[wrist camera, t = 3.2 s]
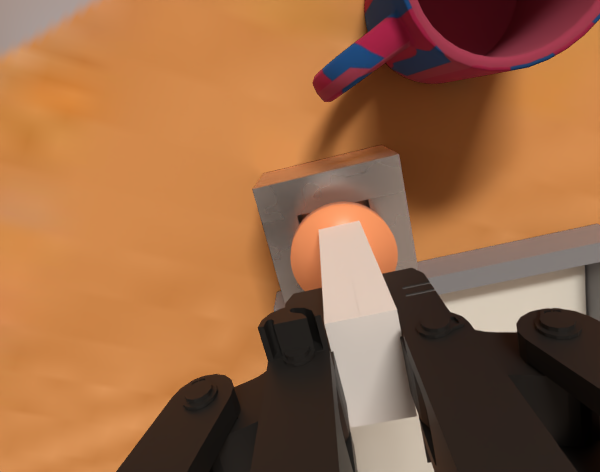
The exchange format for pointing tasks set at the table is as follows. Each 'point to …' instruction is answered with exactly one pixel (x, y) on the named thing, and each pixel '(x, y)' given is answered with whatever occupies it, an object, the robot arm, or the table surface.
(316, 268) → the button
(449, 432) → the robot arm
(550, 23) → the cup
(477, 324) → the tray
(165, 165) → the table surface
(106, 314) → the table surface
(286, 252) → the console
